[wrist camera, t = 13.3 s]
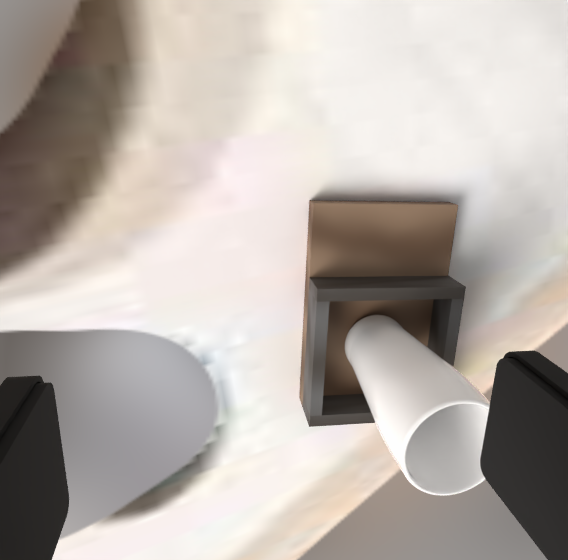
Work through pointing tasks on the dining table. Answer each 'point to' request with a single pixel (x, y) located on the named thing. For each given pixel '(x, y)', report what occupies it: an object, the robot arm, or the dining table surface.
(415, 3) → the dining table surface
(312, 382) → the open box
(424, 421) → the white cup
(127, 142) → the dining table surface
